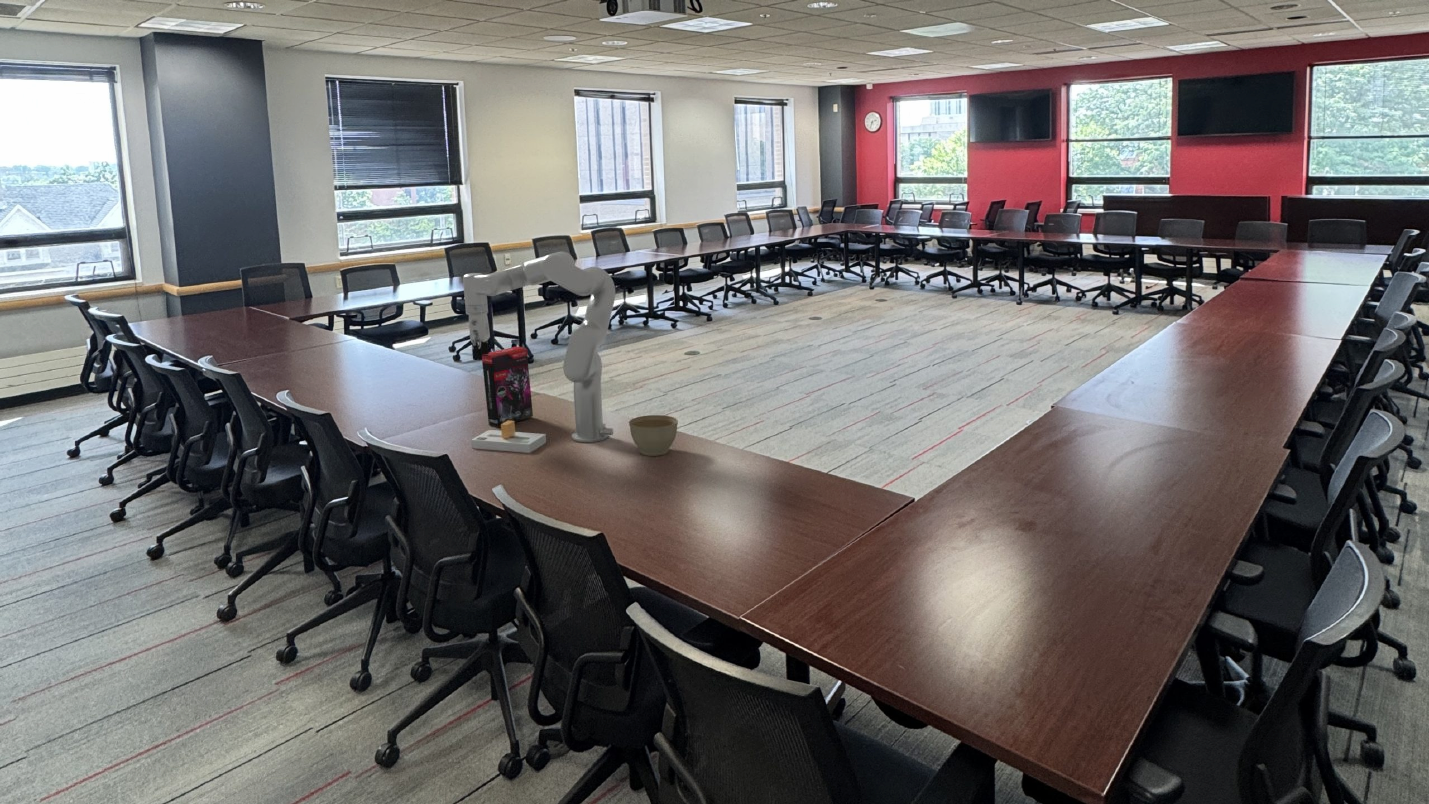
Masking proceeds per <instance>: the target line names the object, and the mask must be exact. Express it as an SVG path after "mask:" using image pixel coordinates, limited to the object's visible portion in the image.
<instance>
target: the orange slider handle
mask: <svg viewBox="0 0 1429 804" xmlns="http://www.w3.org/2000/svg"><path fill="white" fill-rule="evenodd" d="M515 423H516V422H514V421H506V422H504V423H503V424H501V427H500V431H501V433H502V438H514V437H513V435H515V432H516V426H515V425H516V424H515Z"/></svg>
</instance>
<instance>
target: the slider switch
mask: <svg viewBox="0 0 1429 804" xmlns="http://www.w3.org/2000/svg"><path fill="white" fill-rule="evenodd" d="M513 437H514V438H502V433H501V430H497V429H496V430H495V429H488V430H485V432H483V433H480V434H479V435H478V436H476V437H473V438H472V439H471V448H472V449H478V450H480V449H481V450H491V451H503V452H504V451H505V452H515V453H527V454H531V453H532V452H534V451H535V450H537V449H538V448H540V447H542V446H543V445H544V444H546V443H547V436H546V433H536V432H534V433H532V432H524V431H523V432H521V431H515V435H513Z"/></svg>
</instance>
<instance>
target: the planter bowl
mask: <svg viewBox="0 0 1429 804" xmlns="http://www.w3.org/2000/svg"><path fill="white" fill-rule="evenodd" d="M678 422H679V420H678V419H677V418H676V417H674V416H671V415H663V414H653V415H652V414H649V415H643V416H636V417H635V418H632V419H630V420H629V421H628V425H629V431H630V435H631V438H632V440H633V442H634V444H635V445H636V446H637V448H638V449H639V453H640V454H642V455H644V456H649V457H650V456H651V457H654V456H656V457H657V456H662V455H666V454H668V453H669V451H670V448H671V447H672V445H673V443H674V441H675V439H676V436H677V433H678Z"/></svg>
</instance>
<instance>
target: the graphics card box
mask: <svg viewBox="0 0 1429 804" xmlns="http://www.w3.org/2000/svg"><path fill="white" fill-rule="evenodd" d="M481 363H482V372H483V382H484V392H485V399H486V400H485V402H486V410H487V412H486V413H487V420H488V425H489V426H493V427H499V428H501V424H503V423H504V422H506V421H514V423H517V422H520V421H524V420H526V419H527V420H528V419H530V418H533V416H534V413H533V403H532V402H533V401H532V391H531V380H530V371H529V359H528V349H527V348H525V347H522V346H518V345H517V346H516V345H515V346H513V347H508V348H504V349H498V350H495V351H489V354H482V360H481Z"/></svg>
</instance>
